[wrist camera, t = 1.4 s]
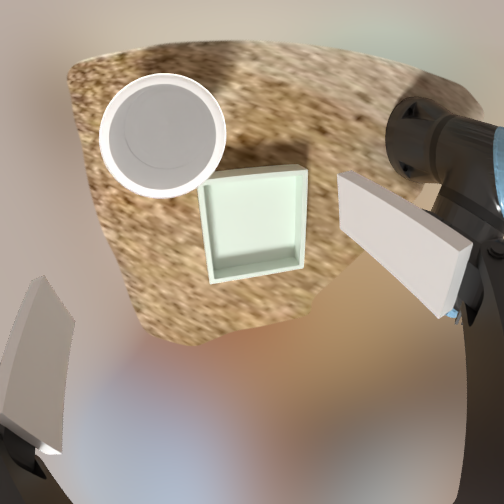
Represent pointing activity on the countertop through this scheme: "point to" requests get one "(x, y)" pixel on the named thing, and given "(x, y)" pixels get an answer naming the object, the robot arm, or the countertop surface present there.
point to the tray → (253, 221)
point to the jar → (162, 135)
